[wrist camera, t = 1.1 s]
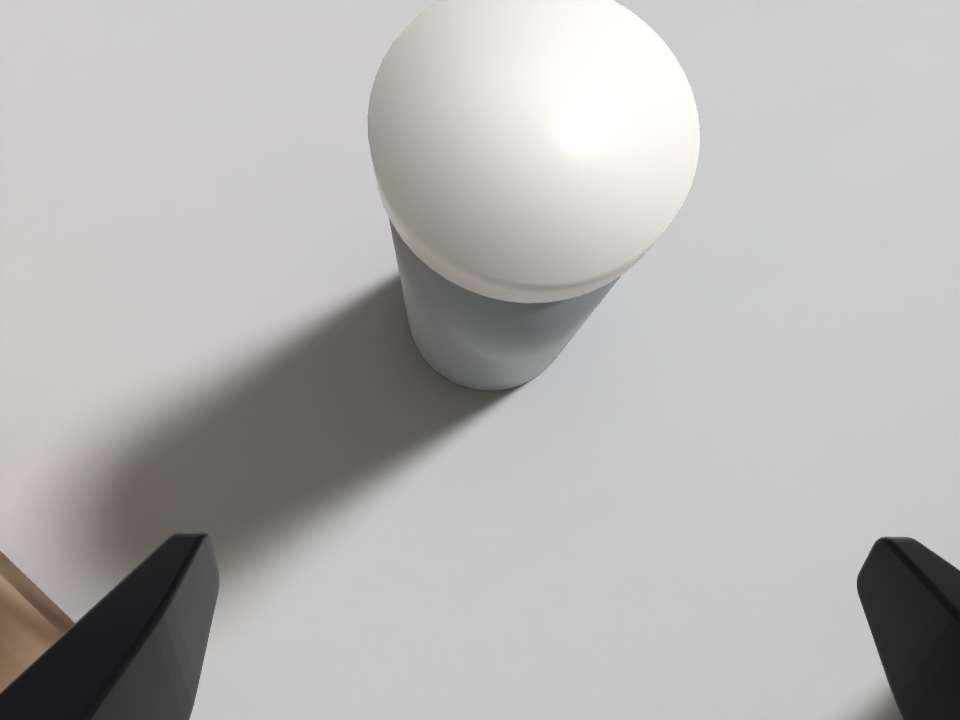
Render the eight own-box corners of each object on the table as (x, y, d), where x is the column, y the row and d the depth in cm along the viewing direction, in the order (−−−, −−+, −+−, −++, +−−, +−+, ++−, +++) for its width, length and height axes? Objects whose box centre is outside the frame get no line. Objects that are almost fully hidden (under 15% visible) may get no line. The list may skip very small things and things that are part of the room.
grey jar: (574, 395, 23) (709, 287, 12) (402, 392, 23) (359, 278, 11) (571, 233, 24) (691, -15, 13) (407, 228, 24) (375, -30, 12)
